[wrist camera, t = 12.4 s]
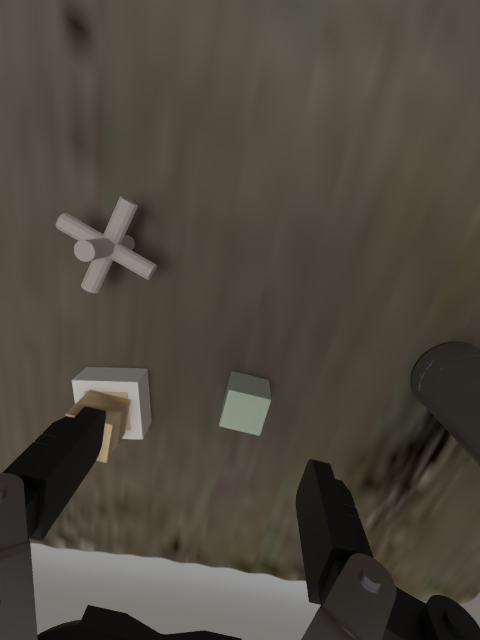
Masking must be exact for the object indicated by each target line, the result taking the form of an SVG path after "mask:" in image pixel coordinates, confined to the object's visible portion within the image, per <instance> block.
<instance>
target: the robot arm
mask: <svg viewBox="0 0 480 640" xmlns="http://www.w3.org/2000/svg"><path fill="white" fill-rule="evenodd" d="M411 384H412V389H413V392H414V394H415V395H416V397H417V398H418V399H419V401H420V402H421V403H422V404H423V405H424V406H425V407H426V408H427V409H428V410H429V411H430V412H431V413H432V414H433V416H434V417H435V418H436V419H437V420H438V421H439V422H440V423H441V424H442V425H443V426H444V428H445V429H446V430H447V431H448V432H449V433H450V434H451V435H452V436H453V437H454V438H455V439H456V440H457V441H458V442H459V444H460V445H461V446H462V447H463V448H464V449H465V450H466V451H467V452H468V453H469V454H470V455H471V456H472V457H473V459H474V460H475V461H476V462H477V463H478V464H479V465H480V350H478V349H476V348H474V347H472V346H471V345H468V344H464V343H455V342H453V343H446V344H443V345H439V346H437V347H435V348H433V349H431V350H430V351H428V352H427V353H426V354H424V355H423V356H422V357H421V359H420V360H419V361H418V362H417V364H416V366H415V367H414V370H413V373H412V379H411ZM105 420H106V411H105V410H101V409H97V408H92V407H88V406H85V407H84V408H83V409H82V410H81V411H80V412H79V413H78V414H77V415H76V416H75V417H74V418H73V417H68V416H66V417H64V418H62V419H60V420H58V421H56V422H54V423H52V424H51V425H50V426H49V427H48V428H47V429H46V430H45V431H44V432H43V434H42V435H40V436H39V437H38V438H37V439H36V440H35V442H34V443H32V444H31V445H30V446H29V447H28V448H27V449H26V450H25V451H24V452H23V453H22V454H21V455H20V456H19V457H18V458H17V459H16V460H15V461H14V462H13V463H12V464H11V465H10V466H9V467H8V468H7V469H6V470H5V471H4V472H3V473H0V640H242V639H241V638H236V637H232V636H227V635H222V634H218V633H213V632H209V631H195V632H186V633H176V634H168V635H164V634H160V633H158V632H156V631H155V630H153V629H151V628H150V627H148V626H146V625H145V624H143V623H141V622H140V621H138V620H136V619H134V618H133V617H131V616H129V615H128V614H126V613H122V612H117V611H113V610H109V609H104V608H99V607H94V606H90V605H88V606H87V608H86V610H85V613H84V615H83V617H82V619H81V620H76V621H71V622H67V623H63V624H60V625H58V626H55V627H52V628H50V629H48V630H46V631H44V632H42V633H40V634H39V635H37V624H36V611H35V598H34V585H33V572H32V559H31V548H30V547H31V546H30V540H29V539H35V540H39V541H42V540H43V538H44V537H45V536H46V534H47V533H48V531H49V530H50V528H51V527H52V525H53V524H54V522H55V521H56V519H57V518H58V516H59V515H60V513H61V512H62V510H63V509H64V507H65V506H66V504H67V503H68V501H69V500H70V498H71V497H72V495H73V494H74V492H75V491H76V490H77V488H78V487H79V485H80V484H81V482H82V481H83V479H84V478H85V476H86V475H87V473H88V472H89V470H90V469H91V467H92V466H93V464H94V463H95V461H96V460H97V458H98V456H99V453H100V451H101V447H102V443H103V435H104V428H105ZM296 512H297V519H298V526H299V533H300V540H301V547H302V554H303V562H304V569H305V576H306V583H307V589H308V597H309V602H311V603H315V604H320V605H321V606H320V608H319V609H318V611H317V613H316V614H315V616H314V618H313V620H312V622H311V623H310V625H309V627H308V629H307V630H306V632H305V634H304V636H303V638H302V639H301V640H480V628H479V626H478V624H477V623H476V621H475V620H474V619H473V618H472V617H471V615H470V614H469V613H468V612H467V611H466V610H465V609H464V608H463V607H461V606H460V605H459V604H458V603H456V602H455V601H453V600H452V599H450V598H448V597H445V596H442V595H433V596H431V597H430V598H429V600H428V602H427V603H424V602H422V601H420V600H419V599H417V598H415V597H413V596H411V595H409V594H408V593H406V592H404V591H402V590H401V589H399V588H397V587H396V586H395V583H394V580H393V578H392V577H391V575H390V573H389V572H388V571H387V569H386V568H385V567H384V566H383V565H382V564H381V563H380V562H378V561H377V560H376V559H374V558H373V555H372V552H371V549H370V546H369V543H368V540H367V538H366V535H365V532H364V529H363V526H362V523H361V521H360V519H359V515H358V512H357V509H356V508H355V503H354V501H353V498H352V495H351V492H350V491H349V490H348V488H347V487H346V486H345V484H344V483H343V482H342V481H341V480H337V479H335V477H334V474H333V471H332V468H331V465H330V464H329V463H325V462H321V461H317V460H313V459H310V460H309V461H308V463H307V465H306V468H305V471H304V474H303V476H302V479H301V482H300V485H299V487H298V491H297V495H296Z"/></svg>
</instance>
